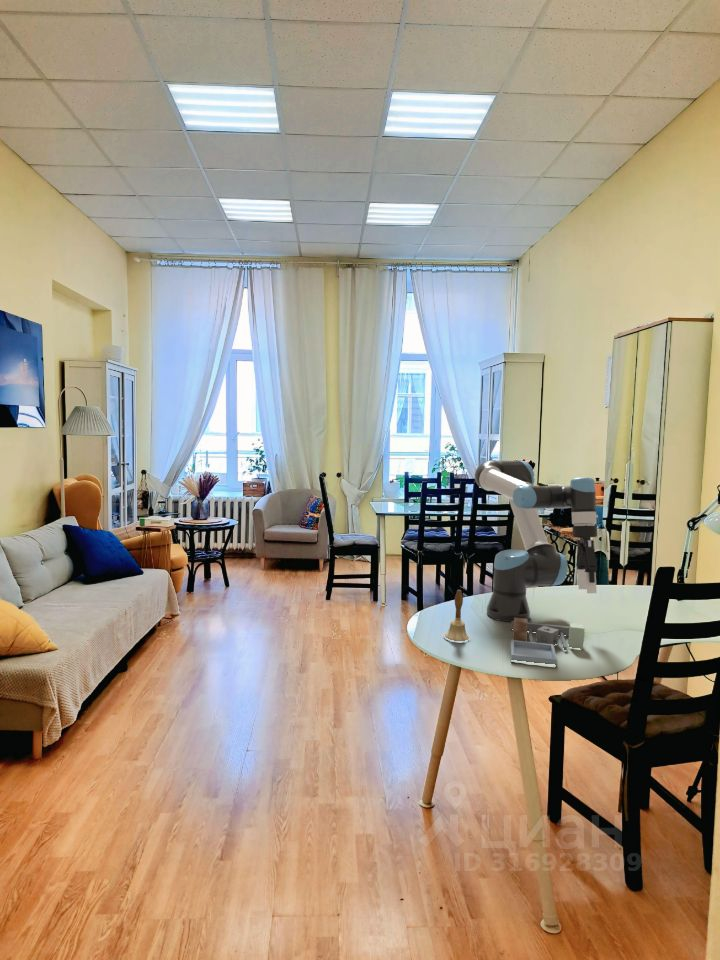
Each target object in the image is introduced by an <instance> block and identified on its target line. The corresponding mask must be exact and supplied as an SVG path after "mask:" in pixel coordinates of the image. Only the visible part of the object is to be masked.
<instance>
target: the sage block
mask: <svg viewBox="0 0 720 960" xmlns="http://www.w3.org/2000/svg"><path fill="white" fill-rule="evenodd" d="M568 625H569V637H568V641H567V645H568V644H569V646H568V648H569V647H572V648H580V649H583V650H584V639H585V627H584V626H585V625H584V624H581V623H573V622H569V624H568Z"/></svg>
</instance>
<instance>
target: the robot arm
mask: <svg viewBox="0 0 720 960" xmlns="http://www.w3.org/2000/svg"><path fill="white" fill-rule="evenodd" d="M534 477H535V472H534V469H533V467H532V466H531V465H530V463H528V462H526V461H524V460H519V459H518V460H516V459H515V460H499V459H497V460H493V459H491V460H486V461H484V462H482V463H481V464H479V466H477V468H476V470H475V473H474V481H475V483H476V484H477V486H479V487H480V488H481V489H483V490H485V491H487V492H490V491H491V492H495V493H498V494H500V495H502V496H503V497H504V498H506V499H508V501H509V505H510V508H511V510H512V513H513V516H514V519H515V521H516V525H517V528H518V531H519V534H520V536H521V540H522V543H523V547H524V549H514V548H513V549H510V548H509V549H505V550H501V551H499V552H498V553H496V554H495V557H494V563H493V581H492V583H493V584H492V594H491V595H490V598H489V600H488V604H487V607H486V615H487V614H488V615H489V616H488V615H487V616H488V617H490V616H491V617H490V618H492V617H493V618H492V619H494V618H495V619H494V620H497V619H498V621H501V620H502V622H508V621H509V623H512V621H514V618H524V619H527V621H529V619H530V616H531V611H530V606H529V602H528V599H527V588H528V587H529V588H531V587H532V588H533V587H554V586H560V585H561V584H563V583H564V581H565V580H566V577H567V576H568V575H567V574H568V560H567V558H566V555H564V554H563V553H560V552H557V551H556V549H555V545H553V544H552V543H549V541H548V537H547V536H546V533H545V530H544V527H543V524H542V522H541V519H540V516H539V513H538V510H537V509H559V510H561V509H563V510H564V509H570V508H571V524H572V525H573V526H572V537H573V538H579V539H577V541H576V543H577V544H576V545H577V546H576V547H577V548H576V562H575V563H576V564H575V566H576V568H577V579H578V580H577V581H578V583H577V584H578V590H586V594H597V577H596V576H597V573H596V572H597V571H598V565H597V559H596V552H595V541H594V540H593V539H591V538H597V537H598V526H597V525H596V524H597V519H598V518H599V515H598V514H597V504H596V501H597V496H596V495H597V494H596V492H597V489H596V484H595V479H594V478H593V477H574V478H571V480H570V485H561V486H560V485H559V486H558V485H548V486H547V485H544V486H543V485H534V484H535V478H534Z"/></svg>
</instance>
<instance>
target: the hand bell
mask: <svg viewBox="0 0 720 960" xmlns="http://www.w3.org/2000/svg"><path fill="white" fill-rule="evenodd" d="M463 603H464V598H463V594H462V590H461V589H457V590H456V594H455V596H454V607H455V617H454V620H451V621H450V624H449V625H450V626H449V629H448V631H447V633H445V634H444V635H445V637H446V638H448V639H450V640H454V641H465V640H468V639H469V638H470V636H469V635H468V634H467V630H466V623H465V622H464V621H462V617H461V616H462V613H461V611H462V607H463Z"/></svg>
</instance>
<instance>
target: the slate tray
mask: <svg viewBox="0 0 720 960" xmlns="http://www.w3.org/2000/svg"><path fill="white" fill-rule="evenodd" d="M511 660H517V661H526V662H534V663H545V664H555V665H556V666H557V662H558V660H557V655H556V649H555V647H554V644H544V643H536V641H535V642H534V641H533V642H529V641H527V640H526V641H517V640H513V639H511V640H510V661H511Z"/></svg>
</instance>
